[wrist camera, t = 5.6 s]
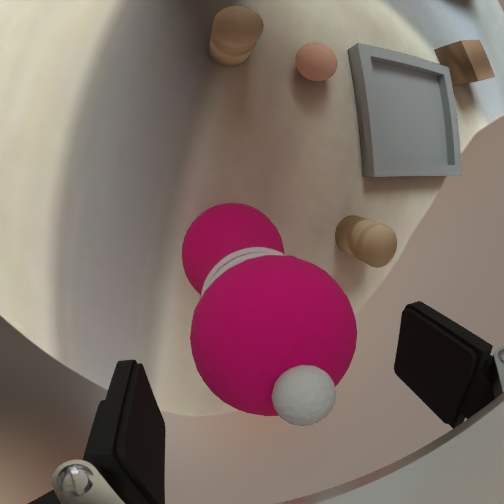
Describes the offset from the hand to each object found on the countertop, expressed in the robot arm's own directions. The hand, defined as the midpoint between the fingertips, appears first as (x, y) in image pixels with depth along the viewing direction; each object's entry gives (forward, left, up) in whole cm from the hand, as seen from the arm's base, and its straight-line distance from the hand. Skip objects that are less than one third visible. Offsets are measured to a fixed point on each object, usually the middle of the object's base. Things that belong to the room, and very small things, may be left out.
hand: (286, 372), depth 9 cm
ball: (-16, +9, -16) cm, 24 cm away
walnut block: (-20, +30, -17) cm, 40 cm away
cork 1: (-18, +2, -17) cm, 25 cm away
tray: (-12, +20, -17) cm, 29 cm away
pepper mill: (-1, 0, -18) cm, 18 cm away
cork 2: (0, +12, -17) cm, 21 cm away
